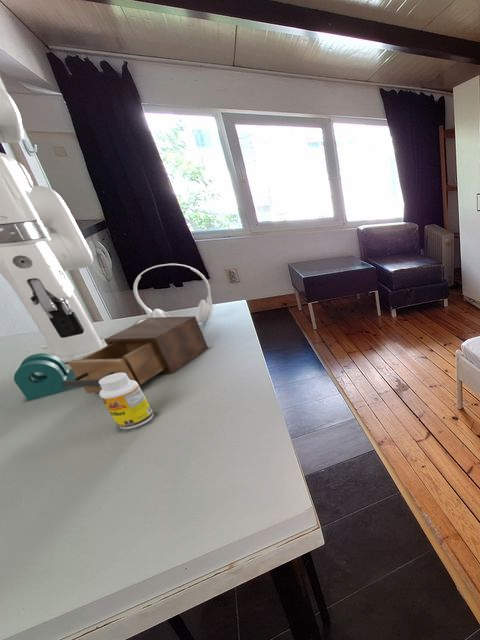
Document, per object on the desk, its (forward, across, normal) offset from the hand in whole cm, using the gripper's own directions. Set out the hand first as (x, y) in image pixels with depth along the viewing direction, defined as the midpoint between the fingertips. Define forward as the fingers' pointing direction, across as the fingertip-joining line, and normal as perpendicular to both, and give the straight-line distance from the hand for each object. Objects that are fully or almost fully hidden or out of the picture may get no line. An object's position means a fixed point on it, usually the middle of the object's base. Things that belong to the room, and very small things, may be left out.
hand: (73, 334), depth 69 cm
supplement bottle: (+17, -9, -3) cm, 20 cm away
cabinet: (+17, +20, -10) cm, 28 cm away
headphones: (+17, +44, -17) cm, 50 cm away
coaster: (+17, +59, -8) cm, 62 cm away
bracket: (+17, +22, +6) cm, 29 cm away
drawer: (+16, +10, -2) cm, 19 cm away
